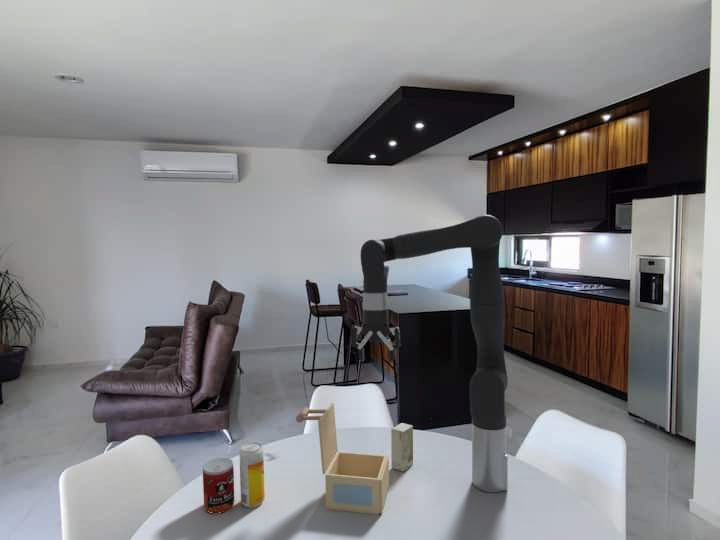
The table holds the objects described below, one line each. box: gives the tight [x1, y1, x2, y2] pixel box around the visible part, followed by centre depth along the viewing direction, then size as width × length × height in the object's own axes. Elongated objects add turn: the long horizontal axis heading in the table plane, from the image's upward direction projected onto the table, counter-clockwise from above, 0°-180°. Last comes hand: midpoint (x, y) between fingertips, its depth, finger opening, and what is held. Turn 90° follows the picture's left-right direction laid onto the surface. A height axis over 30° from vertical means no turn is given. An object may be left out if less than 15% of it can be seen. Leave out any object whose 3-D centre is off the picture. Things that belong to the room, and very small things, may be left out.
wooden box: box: [324, 451, 390, 516], centre depth 117 cm, size 15×13×9 cm
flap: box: [295, 402, 339, 475], centre depth 118 cm, size 14×13×8 cm
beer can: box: [239, 442, 265, 509], centre depth 115 cm, size 6×6×15 cm
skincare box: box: [390, 422, 414, 472], centre depth 133 cm, size 6×4×12 cm
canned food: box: [202, 457, 235, 513], centre depth 114 cm, size 8×8×11 cm
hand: (376, 361), depth 129 cm, fingers open, 8 cm apart
